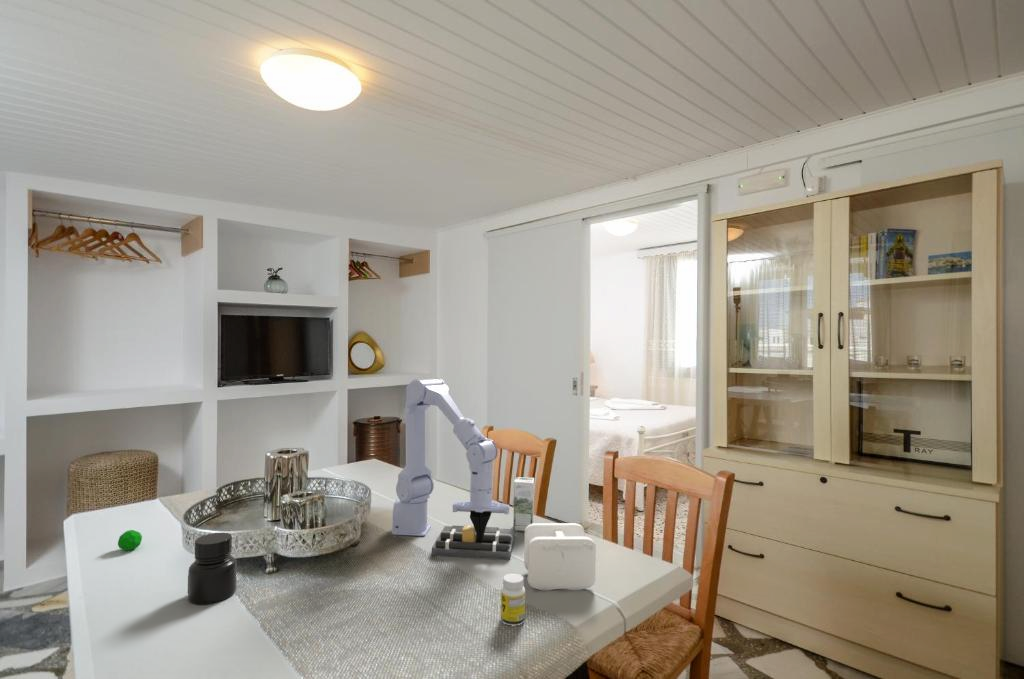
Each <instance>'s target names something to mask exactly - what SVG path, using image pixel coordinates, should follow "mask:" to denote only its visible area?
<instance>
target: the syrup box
mask: <svg viewBox="0 0 1024 679" xmlns="http://www.w3.org/2000/svg"><path fill="white" fill-rule="evenodd" d="M534 504H535V477H521V476H515V479H514V482H513V519H512V520H513V526H512V529H515V532H524V533H525V528H526V527H527V526H528V525H530V524H533V523H535V522H534V520H535V519H534V518H535V517H534V515H535V514H534V510H535V509H534Z"/></svg>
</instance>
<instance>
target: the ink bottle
mask: <svg viewBox="0 0 1024 679" xmlns="http://www.w3.org/2000/svg"><path fill="white" fill-rule="evenodd" d="M232 538H233V536H232V534H230V533H228V532H215V533H213V532H212V533H209V534H208V533H207V534H204V535H201V536H199V537H197V538H196V539H195V540H194V559H195V560H194V562H192V563H191V564H190V565H189V567H188V572H187V573H188V575H187V598H188V601H190V603H193V604H195V605H207V604H208V605H209V604H213V603H217V602H221V601H222V600H223V601H224V600H225V599H228V598H230V597H231V596H233V595H234V594H235V592H236V590H237V572H238V571H237V570H238V569H237V567H238V566H237V564H238V562H237V559H236V558H235V557H234V556H232V555H231V554H232V549H233V548H232V545H233V544H232V543H233V539H232Z"/></svg>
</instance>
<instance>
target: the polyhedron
mask: <svg viewBox="0 0 1024 679" xmlns="http://www.w3.org/2000/svg"><path fill="white" fill-rule="evenodd" d="M142 540H143V535H142V534H141V532H138V531H137V530H133V529H129V530H127V531H125V532H123V533H121V535H120V536H119V538H118V541H117V546H118V548H119V549H120V550H124V551H126V552H130V551H133V550H135V549H137V548H138V547H139V546H141V544H142Z"/></svg>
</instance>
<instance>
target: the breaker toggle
mask: <svg viewBox="0 0 1024 679" xmlns="http://www.w3.org/2000/svg"><path fill="white" fill-rule="evenodd" d="M463 526H464V527H463V529H462V542H474V543H475V539H476V531H475V528H474V525H473V524H471V525H470V524H468V525H463Z"/></svg>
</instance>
